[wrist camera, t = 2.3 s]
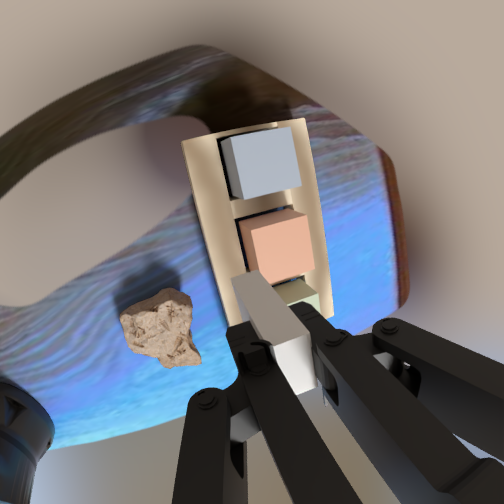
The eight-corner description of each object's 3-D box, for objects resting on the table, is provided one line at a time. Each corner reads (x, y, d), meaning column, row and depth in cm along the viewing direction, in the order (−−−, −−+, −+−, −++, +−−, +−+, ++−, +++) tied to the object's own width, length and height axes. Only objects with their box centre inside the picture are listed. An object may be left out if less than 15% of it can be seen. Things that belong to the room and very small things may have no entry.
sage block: (264, 333, 39) (277, 353, 34) (254, 293, 37) (268, 311, 32) (305, 318, 40) (323, 336, 35) (299, 278, 38) (318, 293, 33)
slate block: (232, 195, 33) (244, 200, 28) (220, 141, 31) (230, 137, 26) (283, 182, 34) (301, 185, 30) (272, 131, 32) (290, 126, 28)
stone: (188, 281, 37) (192, 297, 32) (199, 356, 40) (204, 378, 36) (118, 290, 35) (112, 307, 30) (137, 365, 38) (136, 387, 33)
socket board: (232, 339, 41) (237, 351, 38) (180, 143, 32) (181, 140, 29) (323, 306, 43) (334, 315, 41) (293, 121, 35) (304, 118, 32)
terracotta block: (249, 270, 36) (263, 286, 31) (238, 221, 34) (250, 230, 29) (296, 256, 37) (315, 269, 32) (287, 208, 35) (306, 214, 30)
